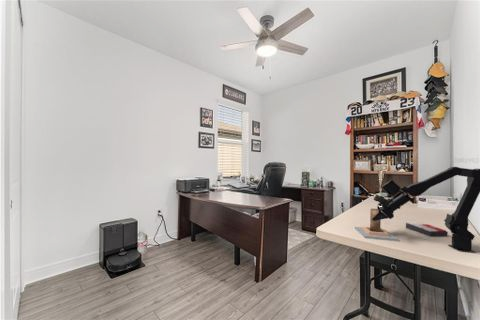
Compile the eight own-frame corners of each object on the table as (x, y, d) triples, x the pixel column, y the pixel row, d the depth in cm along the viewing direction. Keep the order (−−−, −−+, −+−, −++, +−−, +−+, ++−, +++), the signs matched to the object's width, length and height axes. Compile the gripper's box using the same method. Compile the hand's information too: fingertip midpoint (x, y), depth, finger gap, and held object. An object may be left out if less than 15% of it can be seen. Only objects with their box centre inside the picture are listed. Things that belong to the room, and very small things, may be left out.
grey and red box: (430, 230, 109) (405, 221, 124) (430, 238, 109) (405, 228, 124) (448, 230, 110) (421, 221, 125) (447, 238, 111) (420, 228, 125)
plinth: (399, 241, 101) (399, 236, 101) (364, 237, 105) (364, 233, 105) (384, 231, 117) (384, 226, 117) (354, 228, 121) (354, 224, 121)
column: (382, 233, 109) (382, 210, 110) (376, 234, 108) (376, 210, 108) (374, 230, 114) (374, 208, 114) (367, 231, 112) (368, 208, 113)
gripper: (382, 188, 117) (360, 204, 123) (385, 192, 101) (360, 210, 107) (399, 203, 113) (375, 219, 119) (405, 209, 97) (378, 227, 103)
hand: (372, 218), depth 112 cm, fingers open, 5 cm apart
